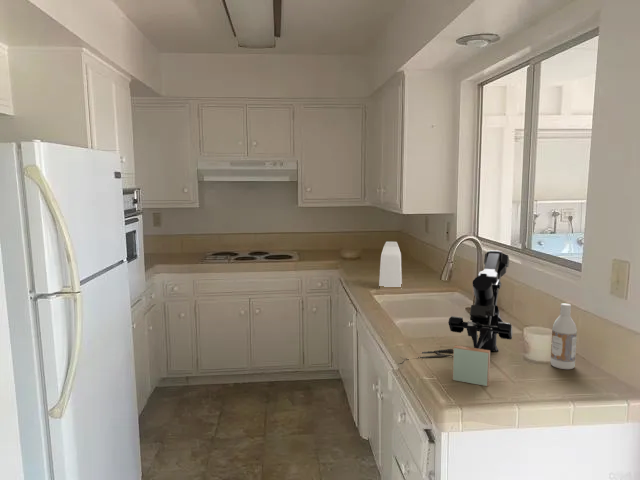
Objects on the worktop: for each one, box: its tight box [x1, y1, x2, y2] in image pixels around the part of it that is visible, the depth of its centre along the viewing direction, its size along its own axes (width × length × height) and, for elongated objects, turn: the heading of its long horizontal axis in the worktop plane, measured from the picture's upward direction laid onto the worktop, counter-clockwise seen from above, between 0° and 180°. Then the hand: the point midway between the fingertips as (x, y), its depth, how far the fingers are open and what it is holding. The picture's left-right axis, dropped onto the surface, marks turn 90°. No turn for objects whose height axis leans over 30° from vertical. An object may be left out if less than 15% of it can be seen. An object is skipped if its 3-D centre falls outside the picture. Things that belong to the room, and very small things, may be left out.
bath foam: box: [550, 302, 578, 370], centre depth 155 cm, size 7×7×20 cm
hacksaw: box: [392, 348, 453, 365], centre depth 163 cm, size 24×10×1 cm, turn 97°
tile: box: [452, 345, 491, 387], centre depth 142 cm, size 2×10×10 cm, turn 63°
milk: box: [378, 241, 403, 287], centre depth 274 cm, size 12×12×26 cm
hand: (476, 351), depth 149 cm, fingers closed
